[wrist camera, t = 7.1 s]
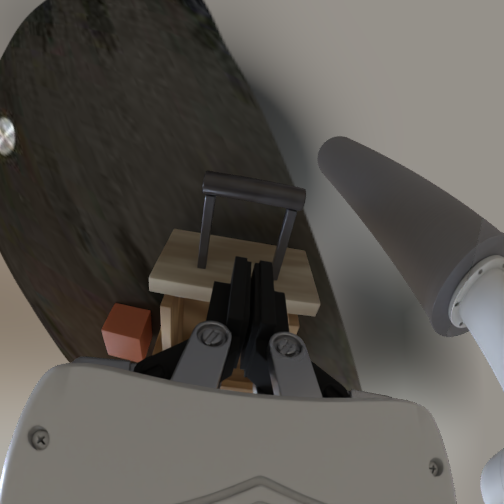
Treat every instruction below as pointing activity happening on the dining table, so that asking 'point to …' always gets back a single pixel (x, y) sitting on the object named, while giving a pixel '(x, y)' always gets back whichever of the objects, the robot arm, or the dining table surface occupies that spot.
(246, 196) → the drawer
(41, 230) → the dining table surface
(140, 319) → the block
